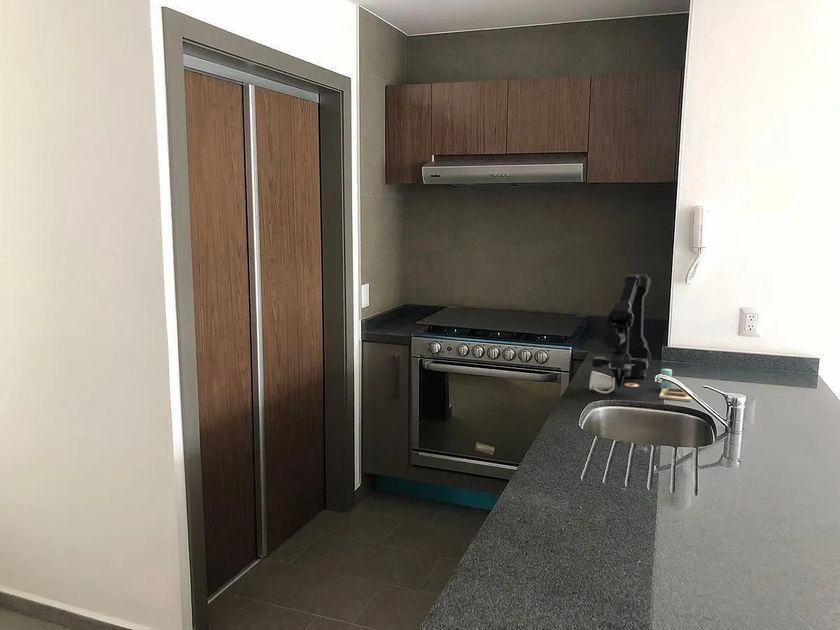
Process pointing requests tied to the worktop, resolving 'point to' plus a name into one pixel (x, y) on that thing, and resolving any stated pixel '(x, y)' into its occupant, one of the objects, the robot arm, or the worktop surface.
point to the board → (674, 394)
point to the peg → (664, 383)
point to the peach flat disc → (631, 385)
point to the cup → (601, 382)
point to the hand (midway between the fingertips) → (619, 386)
